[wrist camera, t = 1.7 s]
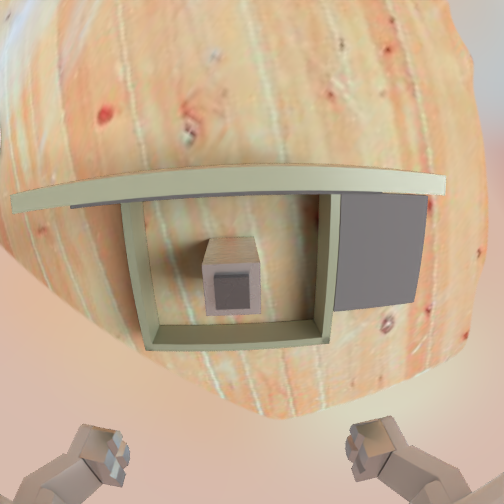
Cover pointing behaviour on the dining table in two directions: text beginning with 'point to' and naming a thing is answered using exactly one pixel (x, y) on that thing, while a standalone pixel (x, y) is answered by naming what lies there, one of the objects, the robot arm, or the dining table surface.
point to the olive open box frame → (231, 184)
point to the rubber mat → (379, 250)
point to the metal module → (231, 277)
